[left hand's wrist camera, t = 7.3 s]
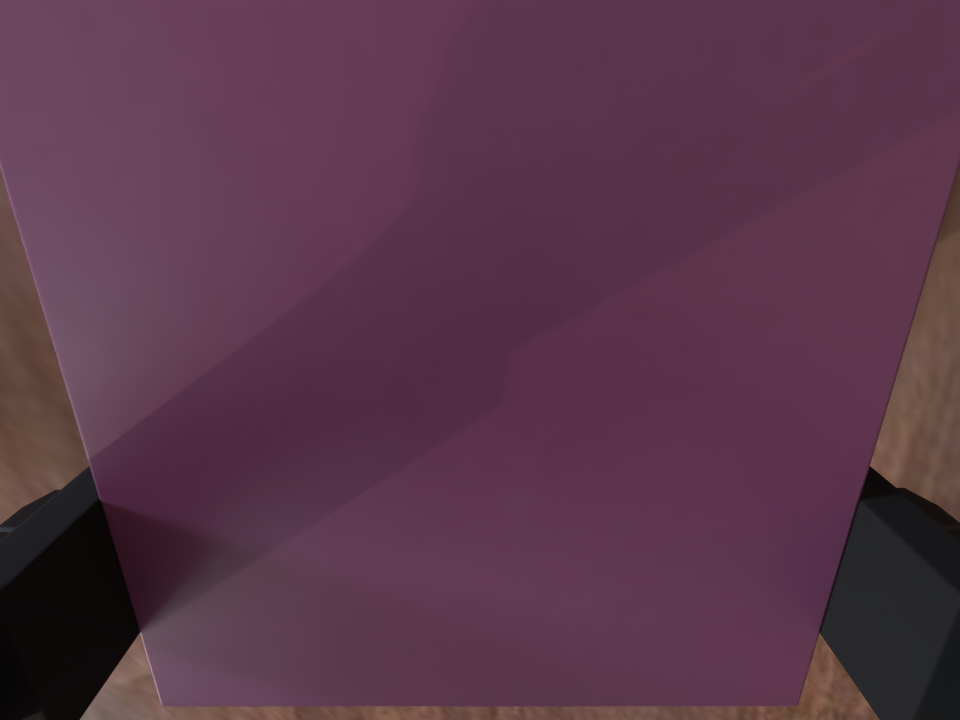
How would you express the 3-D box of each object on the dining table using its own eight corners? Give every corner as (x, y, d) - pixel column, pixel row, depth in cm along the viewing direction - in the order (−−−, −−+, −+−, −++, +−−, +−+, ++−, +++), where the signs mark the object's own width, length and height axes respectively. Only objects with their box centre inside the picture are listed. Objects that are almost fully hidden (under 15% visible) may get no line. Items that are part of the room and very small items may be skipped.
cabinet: (237, -300, 13) (-619, -1866, 3) (722, -301, 13) (1578, -1874, 3) (322, 421, 20) (159, 708, 10) (637, 421, 20) (799, 708, 10)
